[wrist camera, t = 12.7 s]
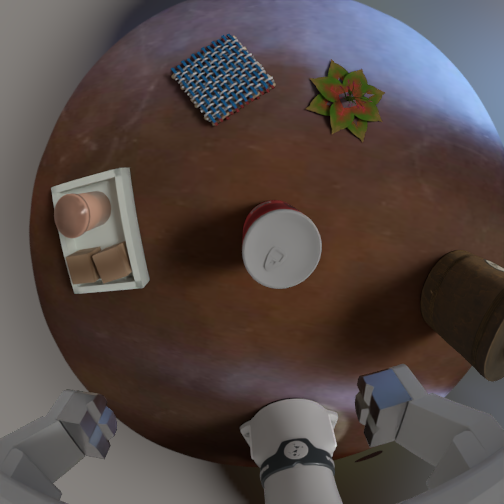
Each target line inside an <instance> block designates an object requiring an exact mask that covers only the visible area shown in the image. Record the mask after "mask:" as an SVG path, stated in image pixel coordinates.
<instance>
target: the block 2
mask: <svg viewBox="0 0 504 504" xmlns="http://www.w3.org/2000/svg"><path fill="white" fill-rule="evenodd" d="M92 257H93V260H94V263H95V265H96V267H97V270H98V272H99V275H100V277H101V279H102V282H103V284H104V283H107V282H110V281H113V280H116V279H119V278H123V277H126V276H128V275H129V274H130V273H131V272H132V268H131V263H130V259H129V254H128V250H127V245H126V241H123V242H120V243H118V244H115V245H112V246H110V247H107V248H105V249H103V250H101V251H99V252H98V253H96V254H94V255H93V256H92Z"/></svg>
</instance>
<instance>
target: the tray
mask: <svg viewBox="0 0 504 504" xmlns="http://www.w3.org/2000/svg"><path fill="white" fill-rule="evenodd" d="M51 191H52V198H53V204H54V210H55V206H56V204H57V202H58V200H59V199H60V198H61V197H62V196H64V195H66V194H71V193H75V194H80V193H86V192H92V191H100V192H103V193H104V194H105V195H106V196H107V197H108V198H109V200H110V203H111V215H110V217H109V219H108V221H107V222H106V223H105V224H103V225H101V226H98V227H96V228H94V229H91V230H89V231H86V232H85V233H84V234H82V235H81V236H79V237H76V238H68V237H65V236H64V235H63V234H61V233H60V231H59V230H58V231H59V236H60V241H61V245H62V250H63V254H64V258H65V262H66V266H67V270H68V273H69V269H68V265H67V261H66V257H67V256H69V255H71V254H73V253H74V252H76V251H78V250H82V249H88V248H94V247H101V250H103V249H105V248H107V247H110V246H112V245H115V244H118V243H120V242H123V241H126V245H127V250H128V254H129V259H130V263H131V268H132V272H131V273H130V274H129V275H128V276H126V277H123V278H119V279H116V280H113V281H110V282H107V283H104V284H103V282H102V279H101V278H99V279H98V280H97V281H96V282H93V283H83V284H73V283H72V280H71V276H70V273H69V277H70V280H71V284H72V287H73V291H74V294H79V293H92V292H103V291H115V290H126V289H137V288H144V286H145V285H146V284H147V283H148V282H149V280H150V279H149V274H148V270H147V266H146V261H145V256H144V252H143V247H142V242H141V237H140V232H139V226H138V221H137V215H136V209H135V203H134V197H133V190H132V183H131V176H130V168H118V169H114V170H110V171H106V172H102V173H98V174H95V175H91V176H88V177H84V178H81V179H77V180H74V181H70V182H67V183H64V184H61V185H58V186H55V187H51Z"/></svg>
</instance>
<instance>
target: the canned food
mask: <svg viewBox="0 0 504 504" xmlns="http://www.w3.org/2000/svg"><path fill="white" fill-rule="evenodd" d="M321 251H322V243H321V238H320V234H319V232H318V229H317V228H316V226H315V225H314V223H313V222H312V221H311V220H310V219H309V218H308V217H307V216H306V215H305V214H303V213H302V212H300V211H299V210H297V209H296V208H294V207H293V206H291V205H289V204H288V203H286V202H283V201H277V200H272V201H266V202H263V203H261V204H259V205H257V206H256V207H255V208H254V209H252V211H251V212H250V213H249V214H248V216H247V218H246V220H245V223H244V227H243V238H242V257H243V261H244V265H245V267H246V269H247V271H248V273H249V274H250V275H251V276H252V278H253V279H255V280H256V281H257V282H258V283H260V284H262V285H264V286H266V287H270V288H277V289H282V288H289V287H292V286H295V285H297V284H299V283H301V282H302V281H304V280H305V279H306V278H308V277H309V276H310V274H311V273H312V272H313V271H314V269H315V268H316V266H317V264H318V262H319V259H320V256H321Z"/></svg>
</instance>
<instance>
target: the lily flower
mask: <svg viewBox="0 0 504 504" xmlns="http://www.w3.org/2000/svg"><path fill="white" fill-rule="evenodd" d="M330 66H331V67H329V72H328V77H320V78H317V79H314V78H309V79H310V80H311V81H312V82H313V83H314V85H316V88H317V89H318V90H319V91H320V94H318V95H317V96H316V97H315V98H314V99H313V101H312V102H311V103H310V106H309V107H307V108H306V109H307V110H311V111H313V112H315V111H316V113H319V114H322V115H326V116H330V121H331V127H332V134H334V133H335V132H338V131H339V130H340V129H341V130H342V129H344V128H346V127H347V128H348V129H349V130H350V131H351V132H352V133H353V134H354V135H356V136H357V137H358V138H360V140H361V141H362V142H363V139H364V136H365V133H366V130H367V121H378V120H379V121H381V122H382V120H381V117H380V115H379V114H378V112H379V111H378V109H377V107H376V104H377V103H378V102H379V101H380V100H381V98H382V95H384V93H385V92H382V91H381V90H379V89H378V90H377V88H375V87H373V86H371V85H367V80H366V77H365V75H364V74H363V73H362V72H363V71H362V69H361V70H357V72H356V71H353V72H351V73H348V72H347V71H346V70H345V69H344V68H343V67H342V66H340V65H338V64H336V63H334V61H333V60H332V59H331V64H330ZM338 77H339V78H340V79H341V80H342V81H343V85H342V83H341V82H340V81H339V80H338V79H339V78H338ZM345 92H348V93H349V96H348V95H347V97H346V94H345ZM342 93H344V94H345V97H346V98H344V99H345V100H347V101H349V102H350V101H352V104H353V102H354V101H353V100H356V103H355V102H354V103H355V104H357V106H353V107H350V108H343V106H342V103H341V101H340V99H339V94H342ZM365 93H367V94H375V95H373V96H371V97H369V99H368V98H366V97H363V95H364V94H365ZM352 94H353V97H350V96H351V95H352ZM348 99H349V100H348ZM328 101H331V102H334V103H333V104H332V106H328V105H326V104H327V103H328ZM349 105H350V103H349ZM351 106H352V105H351ZM348 107H349V106H348ZM354 115H355V116H357V117H358V118H359V119H358V122H357V126H358V128H357V126H356V124H355V123H354V122H353V120H354Z"/></svg>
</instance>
